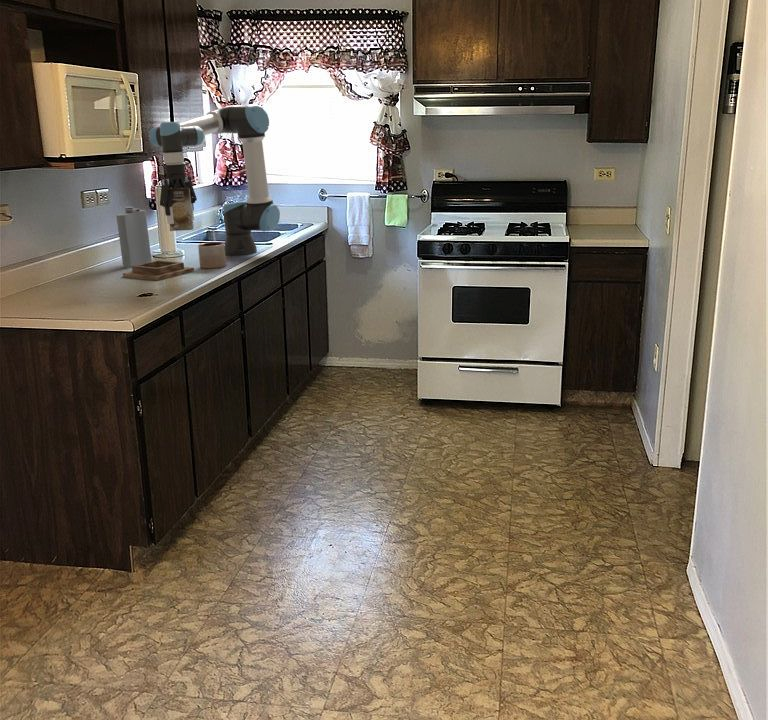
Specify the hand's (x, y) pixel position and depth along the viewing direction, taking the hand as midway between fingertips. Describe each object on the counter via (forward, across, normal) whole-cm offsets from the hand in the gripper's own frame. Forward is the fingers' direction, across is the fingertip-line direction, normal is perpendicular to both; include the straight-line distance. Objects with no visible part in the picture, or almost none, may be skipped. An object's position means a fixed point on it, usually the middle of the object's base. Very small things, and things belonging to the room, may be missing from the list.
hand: (181, 221), depth 314 cm
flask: (+22, -11, -41) cm, 48 cm away
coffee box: (+3, 0, 0) cm, 3 cm away
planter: (+22, -19, -4) cm, 29 cm away
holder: (+21, +2, -14) cm, 26 cm away
